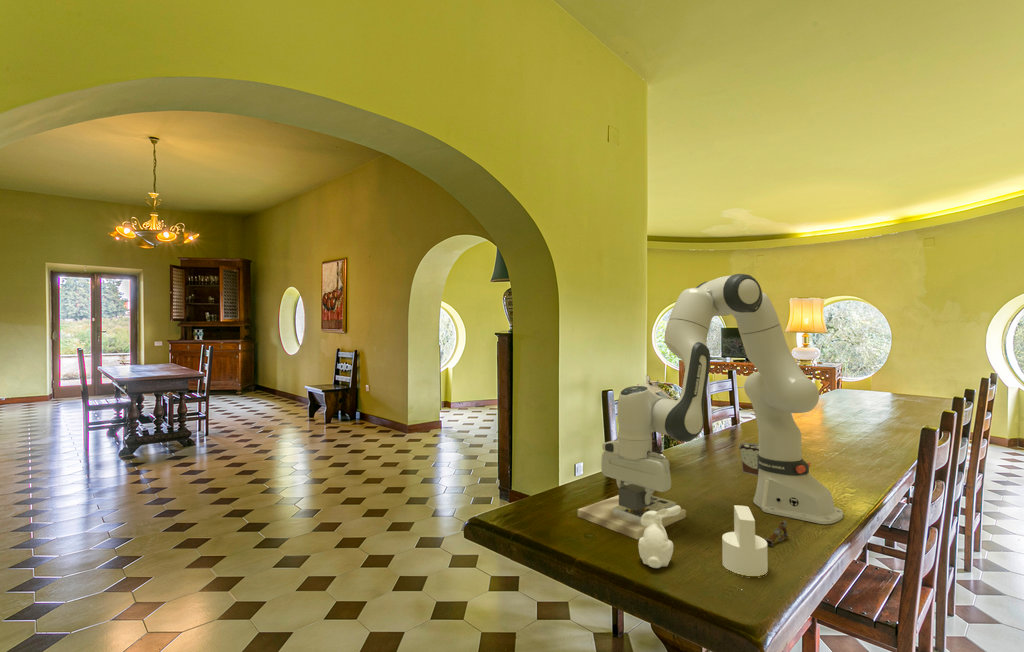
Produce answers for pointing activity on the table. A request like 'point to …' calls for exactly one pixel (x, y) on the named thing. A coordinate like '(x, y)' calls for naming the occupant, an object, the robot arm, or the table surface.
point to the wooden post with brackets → (777, 533)
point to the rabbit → (656, 538)
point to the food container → (749, 457)
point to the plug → (632, 497)
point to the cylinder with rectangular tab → (744, 546)
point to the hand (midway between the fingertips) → (635, 500)
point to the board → (604, 517)
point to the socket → (636, 516)
